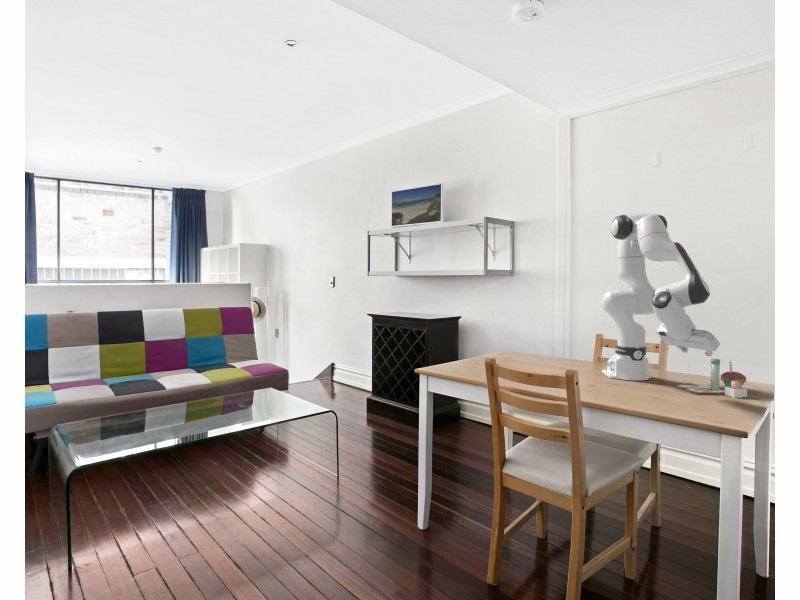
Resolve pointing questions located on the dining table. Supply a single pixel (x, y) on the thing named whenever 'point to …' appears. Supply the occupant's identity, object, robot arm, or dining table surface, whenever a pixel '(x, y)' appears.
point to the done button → (735, 384)
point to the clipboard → (699, 389)
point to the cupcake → (732, 377)
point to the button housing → (735, 392)
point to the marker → (715, 374)
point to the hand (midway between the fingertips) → (697, 352)
